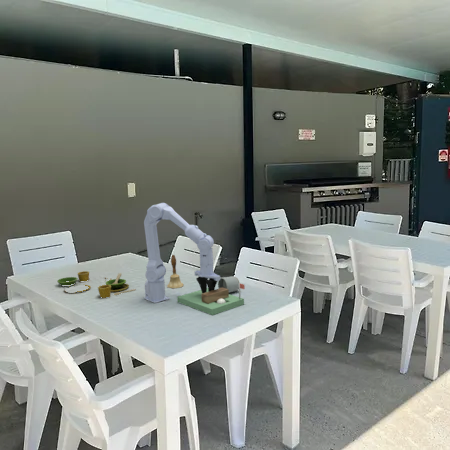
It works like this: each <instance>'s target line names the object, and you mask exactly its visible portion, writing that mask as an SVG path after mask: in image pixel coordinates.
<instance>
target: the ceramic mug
mask: <svg viewBox="0 0 450 450" xmlns="http://www.w3.org/2000/svg"><path fill="white" fill-rule="evenodd" d="M239 283H240V280H239V278H238V277H236V276H233V275H231V276H223V277H220V280H219V281H218V282H217V289H219V288H226V289H229V294H230V293H234V292H237V291H239Z"/></svg>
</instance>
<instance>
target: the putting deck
mask: <svg viewBox="0 0 450 450" xmlns="http://www.w3.org/2000/svg"><path fill="white" fill-rule="evenodd" d="M245 286H246V285H245V284H243V283H240V282H239V289H238V296H236V295H233V294H230V293H229V297H227V298H224V300H225V301H226V303H223V304H218V303H217V301H215V302H212V303H209V304H207V303H204V302H202V295H201V294H202V291H201V289H199V290H196V291H192V292H189V293H185V294H183V295H182V294H181V295H179V296H177V297H176V299H177V303H179V304H182V305H185V306H187V307H190V308H192V309H195V310H198V311H200V312H202V313H205V314H209V315H211V316H215V315H218V314H220V313H224V312H226V311H229V310H232V309H234V308H237V307H240V306H243V305H245V298H243V297H241V289H242V290H245ZM207 292H208V287H207Z"/></svg>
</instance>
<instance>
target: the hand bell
mask: <svg viewBox="0 0 450 450" xmlns="http://www.w3.org/2000/svg"><path fill="white" fill-rule="evenodd" d="M170 263H171V267H172V274H171V275H170V277H169V278H170V279H169V282H168V283H167V286H166V287H167V288H169V289H181V288H182V287H184V283H183V282H182V281H181V278H180V275H179V274H177V269H176V267H177V258H176V256H175V254H172V255H171V259H170Z"/></svg>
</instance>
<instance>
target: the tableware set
mask: <svg viewBox="0 0 450 450" xmlns="http://www.w3.org/2000/svg"><path fill="white" fill-rule="evenodd" d="M121 277H122V272H118V273H117V275H116V278H114V279H112V278H110V280H109V281H105V284H106V285H105V284H102V286H101V285H98V286H99V287H97V291H98V294H99V298H100V297H102V298H101V299H107V298H106V297H109V298H110V297H111V295H112V293H113V294H114V295H115V296H120V295H122V294H125V293H130V292H134V291H137V290H136V288H133V289H128V288H129V286H130V285H129V284H128V283H126V282H127V280H126V279H124V278H121ZM89 278H90V271H87V270H86V271H79V272H77V277H75V276H73V277H72V276H69V277H62V278H59V279H58V280H56V281H57V283H58V284H59V285H60V286H61V285H71V284H74V283H75V284H76V282H77V281H79V280H80V281H87V280H89ZM106 278H107V279H108V278H109V277H106ZM66 281H69V282H66ZM80 281H79V282H80ZM87 282H88V281H87ZM84 285H85V286H88V287H89V288H88V289H86V290H88V291H89V290H90V289H91V285H88V284H84ZM86 290H83V291H85V292H87V291H86ZM119 291H120V292H119ZM77 292H81V293H83V292H82V291H77ZM121 293H122V294H121ZM119 294H120V295H119ZM114 295H113V296H114Z"/></svg>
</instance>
